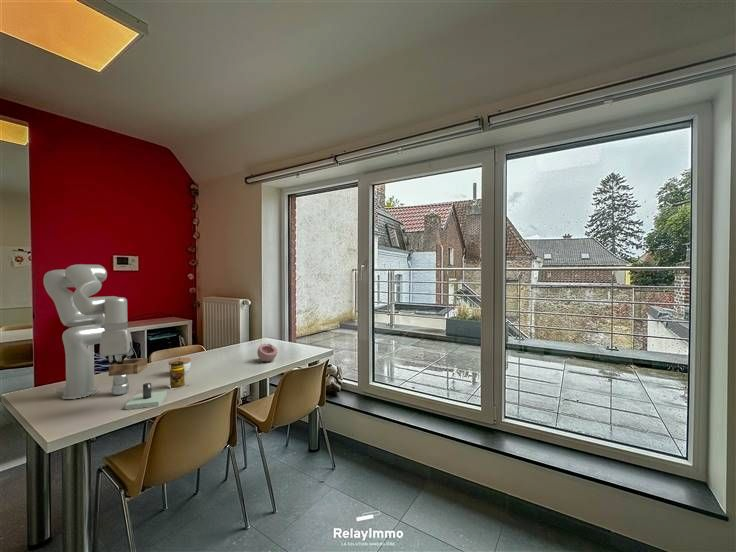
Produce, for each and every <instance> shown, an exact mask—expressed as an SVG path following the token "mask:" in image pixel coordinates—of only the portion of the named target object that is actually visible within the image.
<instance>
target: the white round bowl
mask: <svg viewBox="0 0 736 552" xmlns="http://www.w3.org/2000/svg"><path fill="white" fill-rule="evenodd" d="M177 361H182V362H183V365H184V366H183V367H184V376H185V375H187V373H188V372H189V371H190V369H191V367H192V366H191V365H192V359H191V358H190V357H182V356H179V357H177V358H173V359H170V360H169V361H168V369H169V371H170V369H171V363H173V362H177Z"/></svg>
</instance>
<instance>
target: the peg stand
mask: <svg viewBox="0 0 736 552" xmlns="http://www.w3.org/2000/svg"><path fill="white" fill-rule="evenodd" d="M167 397H168V391H167V390H165V391H164V390H163V391H154V392H152V382H146V383H143V384H142V392H141V393H136V394H135V395H134V396H133V397H132V398H131V399H130V400H129V401H128V402H126V403H125V404H124V410H125V409H129V410H133V409H132V408H138V409H144V408H143V407H147V408H155V407H156V408H157V407H160V405H161V404H162V403H163V401H164V400H165V399H166V398H167ZM161 402H162V403H161Z"/></svg>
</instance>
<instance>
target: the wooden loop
mask: <svg viewBox="0 0 736 552" xmlns="http://www.w3.org/2000/svg"><path fill="white" fill-rule="evenodd" d="M117 362H118V361H117ZM117 362H116V363H114V364H112V365H111V364H110V365H108V377H113V376H116V375H127V376H128V375H137V374H138V375H139V374H140V373H141V372H142V371H144V370H145V369H147V368H148V357H142V358H141V357H140V358H139V357H138V358H127V359H124V360H123V364H120V365H117Z"/></svg>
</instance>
